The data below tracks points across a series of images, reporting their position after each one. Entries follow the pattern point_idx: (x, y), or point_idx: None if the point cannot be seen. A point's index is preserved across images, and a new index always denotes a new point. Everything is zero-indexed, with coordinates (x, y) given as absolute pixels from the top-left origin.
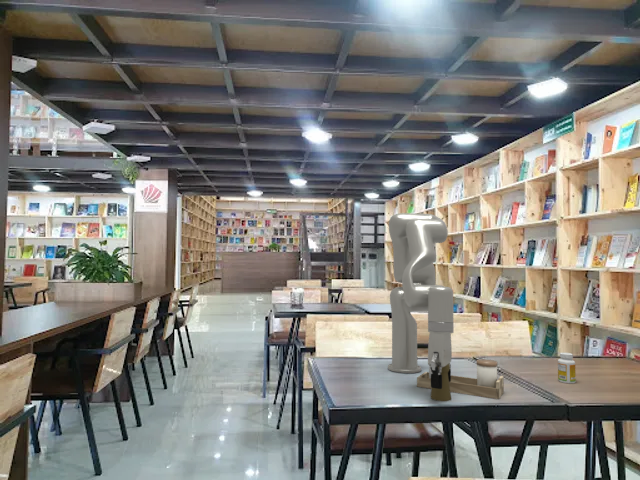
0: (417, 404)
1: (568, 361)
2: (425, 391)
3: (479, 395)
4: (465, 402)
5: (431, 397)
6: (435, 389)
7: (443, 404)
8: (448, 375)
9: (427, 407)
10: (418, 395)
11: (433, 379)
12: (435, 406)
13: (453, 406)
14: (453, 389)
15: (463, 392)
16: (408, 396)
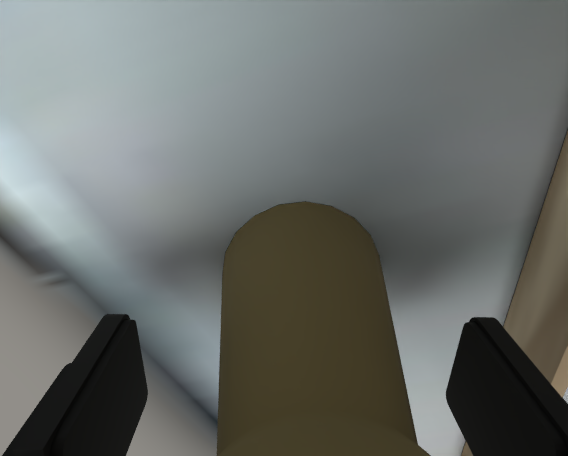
0: (14, 169)
1: None
2: (450, 112)
3: (465, 450)
4: None
5: (250, 223)
6: (223, 301)
7: (159, 322)
8: (478, 445)
9: (9, 253)
10: (277, 92)
11: (31, 421)
12: (76, 291)
13: (161, 375)
14: (519, 329)
15: None
16: (183, 7)
